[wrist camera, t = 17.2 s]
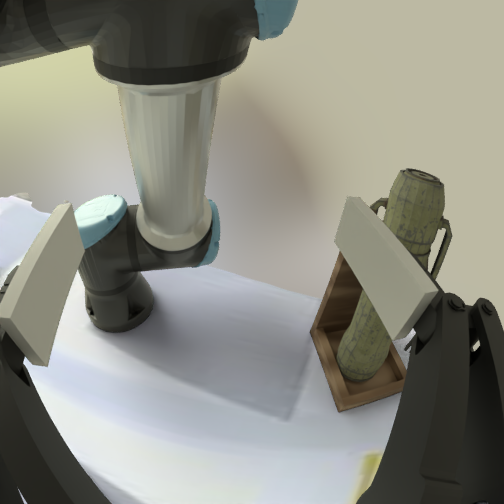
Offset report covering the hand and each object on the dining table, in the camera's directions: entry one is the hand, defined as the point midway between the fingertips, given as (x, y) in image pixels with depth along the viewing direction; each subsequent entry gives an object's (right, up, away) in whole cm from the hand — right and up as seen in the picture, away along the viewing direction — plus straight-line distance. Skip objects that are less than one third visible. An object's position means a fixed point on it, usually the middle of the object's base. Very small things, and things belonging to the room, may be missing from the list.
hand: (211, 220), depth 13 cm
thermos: (+21, -22, +34) cm, 46 cm away
